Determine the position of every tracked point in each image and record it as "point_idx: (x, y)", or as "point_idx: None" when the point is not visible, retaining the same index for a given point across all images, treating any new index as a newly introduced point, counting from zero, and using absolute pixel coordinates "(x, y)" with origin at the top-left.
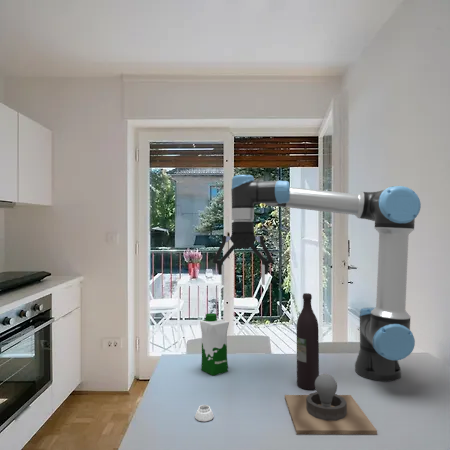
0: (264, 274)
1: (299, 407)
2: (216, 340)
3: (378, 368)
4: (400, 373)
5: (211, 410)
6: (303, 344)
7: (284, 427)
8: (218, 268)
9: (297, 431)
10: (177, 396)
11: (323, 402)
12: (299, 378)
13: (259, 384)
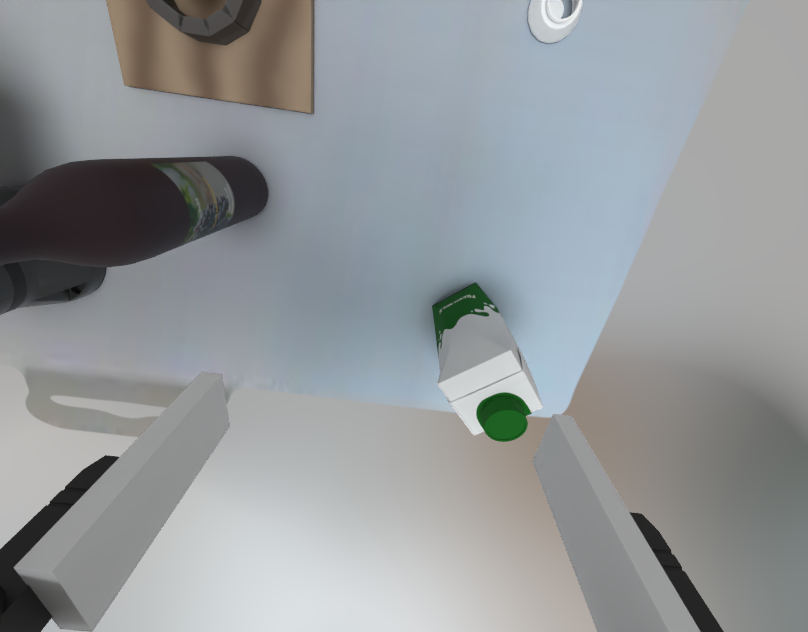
0: (134, 444)
1: (280, 14)
2: (482, 326)
3: None
4: None
5: (540, 1)
6: (176, 170)
7: None
8: (696, 592)
9: None
10: (592, 167)
11: None
12: (253, 178)
13: (366, 214)
